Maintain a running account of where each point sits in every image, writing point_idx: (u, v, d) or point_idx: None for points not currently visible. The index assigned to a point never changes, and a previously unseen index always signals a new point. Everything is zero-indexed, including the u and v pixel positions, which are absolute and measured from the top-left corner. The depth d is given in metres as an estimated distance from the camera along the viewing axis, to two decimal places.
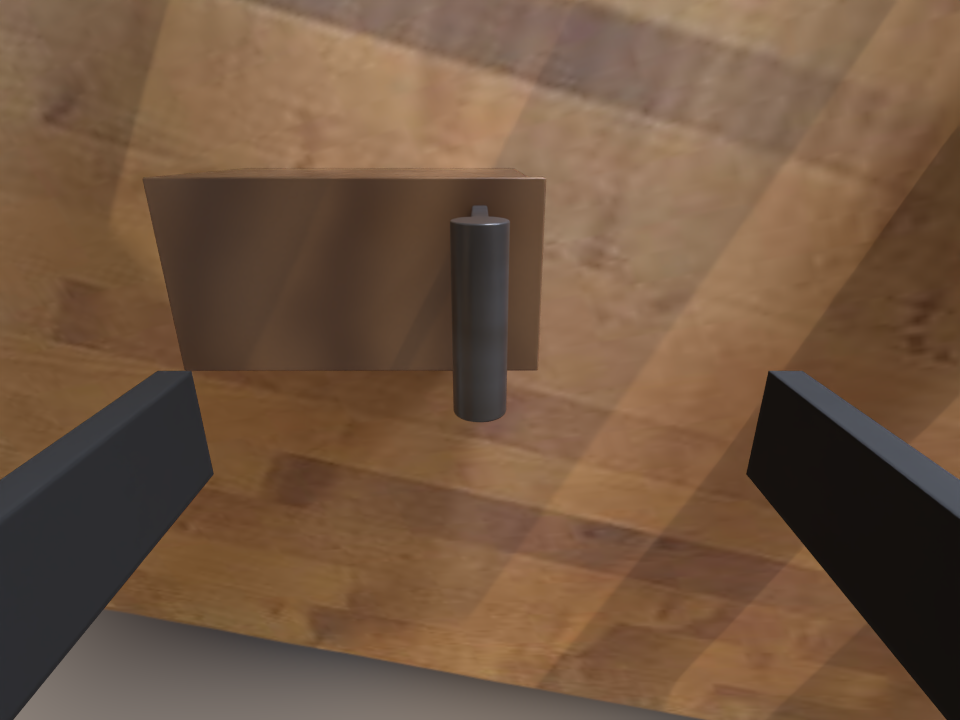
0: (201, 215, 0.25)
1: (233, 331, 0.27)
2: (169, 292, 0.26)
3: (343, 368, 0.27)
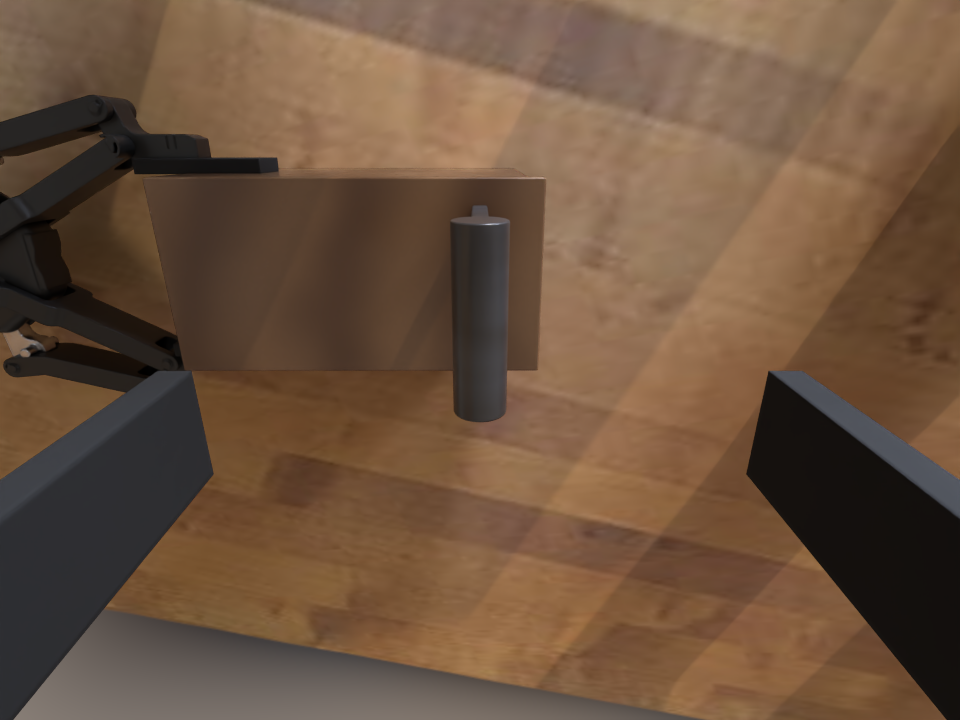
0: (201, 215, 0.25)
1: (232, 331, 0.27)
2: (169, 292, 0.26)
3: (343, 368, 0.27)
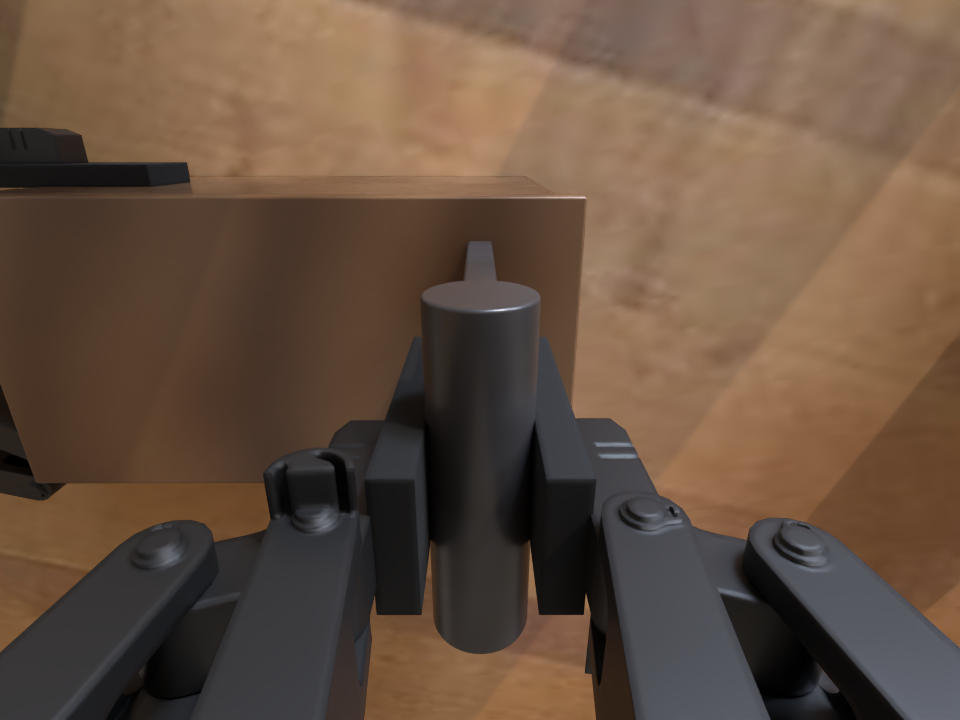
0: (36, 257, 0.15)
1: (103, 428, 0.17)
2: None
3: None
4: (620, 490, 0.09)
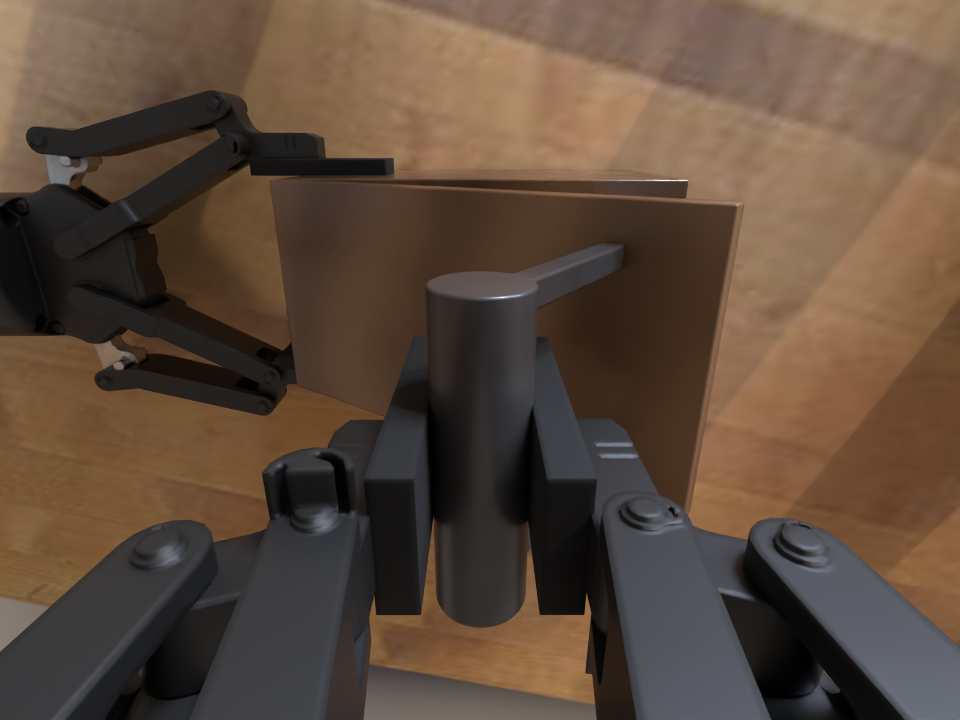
0: (311, 224, 0.22)
1: (332, 356, 0.23)
2: (287, 302, 0.24)
3: None
4: (621, 490, 0.09)
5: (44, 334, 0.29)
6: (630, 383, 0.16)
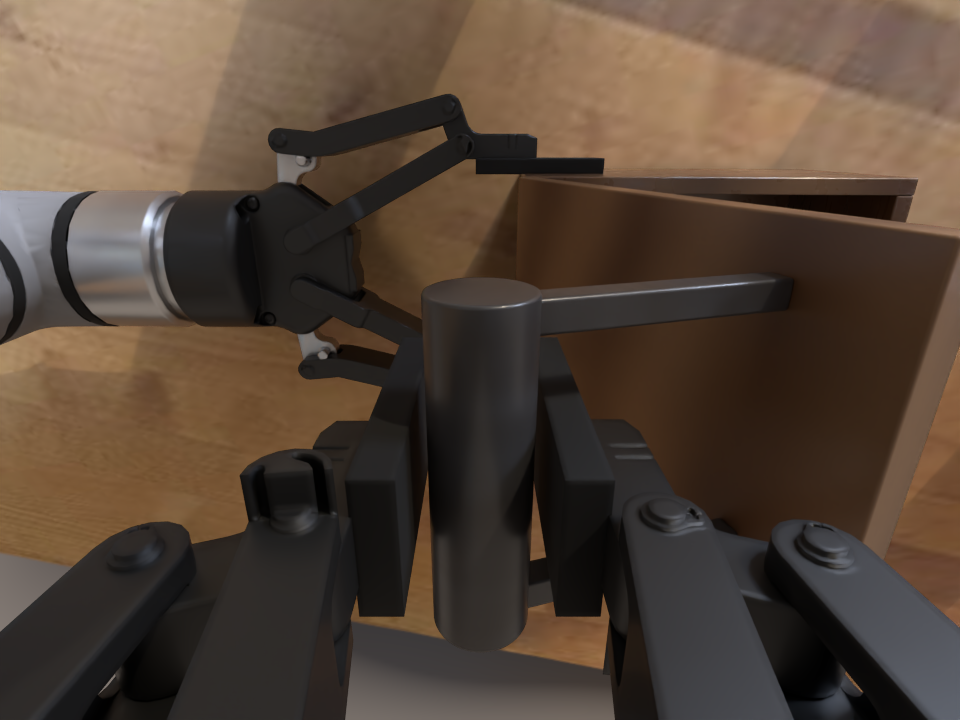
0: (537, 221, 0.22)
1: None
2: None
3: None
4: (637, 491, 0.09)
5: (258, 325, 0.30)
6: (777, 464, 0.12)
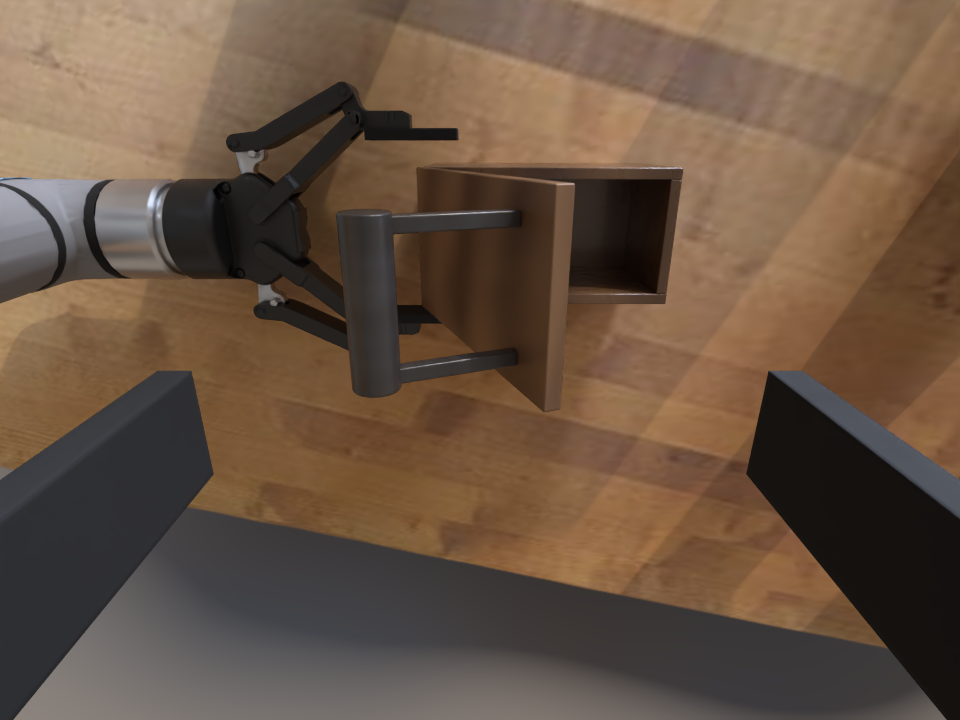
0: (428, 196, 0.34)
1: (432, 285, 0.35)
2: None
3: (461, 338, 0.32)
4: None
5: (232, 277, 0.41)
6: (524, 306, 0.23)
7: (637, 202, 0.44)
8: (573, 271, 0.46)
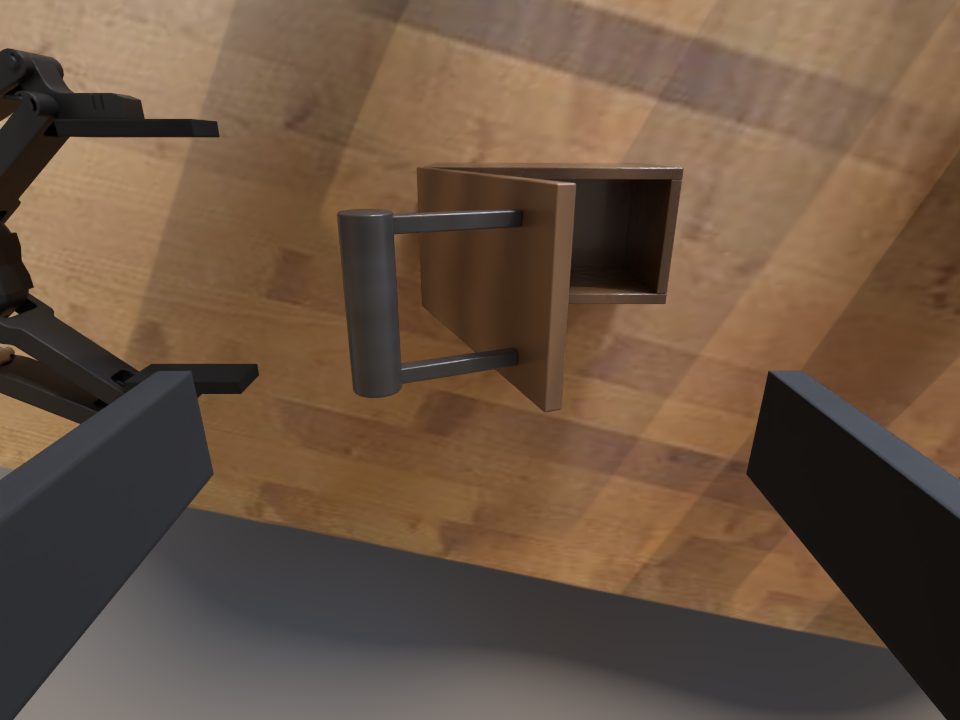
0: (428, 196, 0.34)
1: (433, 285, 0.35)
2: (420, 248, 0.37)
3: (462, 338, 0.31)
4: None
5: None
6: (525, 306, 0.23)
7: (637, 202, 0.44)
8: (573, 271, 0.46)
